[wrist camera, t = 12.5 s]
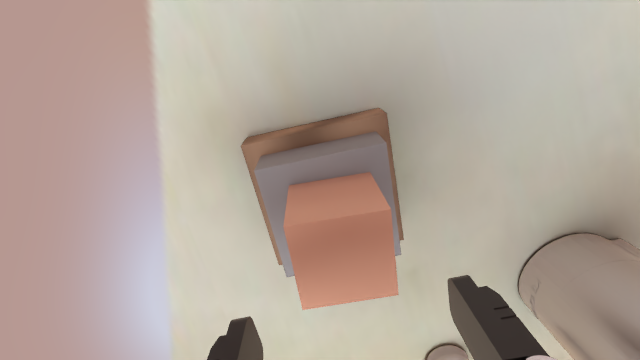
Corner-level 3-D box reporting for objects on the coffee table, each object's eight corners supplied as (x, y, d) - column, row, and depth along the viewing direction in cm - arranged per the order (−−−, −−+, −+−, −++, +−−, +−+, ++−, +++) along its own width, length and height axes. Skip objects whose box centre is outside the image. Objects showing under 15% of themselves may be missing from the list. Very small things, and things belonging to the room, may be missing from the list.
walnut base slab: (377, 106, 23) (386, 113, 21) (393, 220, 27) (403, 239, 24) (248, 135, 24) (240, 145, 21) (281, 244, 28) (279, 265, 25)
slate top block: (375, 131, 21) (386, 142, 18) (390, 231, 24) (401, 254, 21) (260, 155, 21) (254, 170, 19) (289, 251, 24) (286, 277, 22)
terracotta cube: (370, 172, 19) (391, 209, 14) (377, 241, 21) (398, 294, 16) (288, 185, 19) (283, 226, 14) (303, 253, 21) (302, 309, 16)
